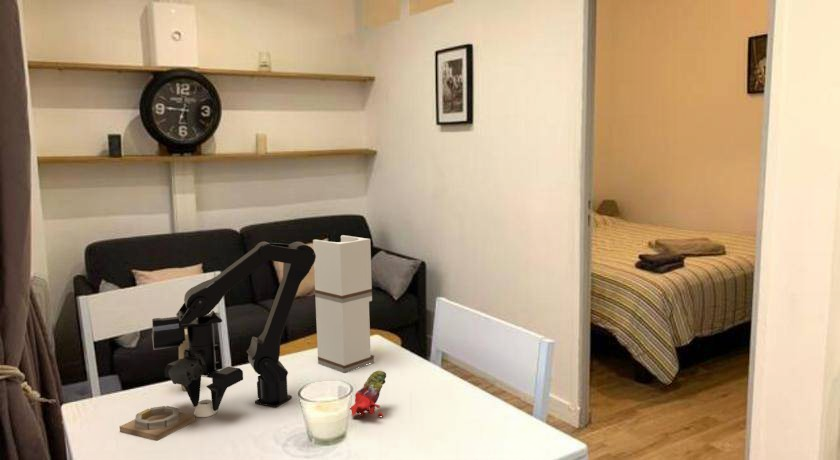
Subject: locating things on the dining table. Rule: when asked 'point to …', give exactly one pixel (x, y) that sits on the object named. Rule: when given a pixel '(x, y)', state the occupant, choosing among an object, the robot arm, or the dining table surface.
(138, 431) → the hub plate
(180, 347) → the handle
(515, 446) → the dining table surface
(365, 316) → the stacked square vase
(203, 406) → the white jar
